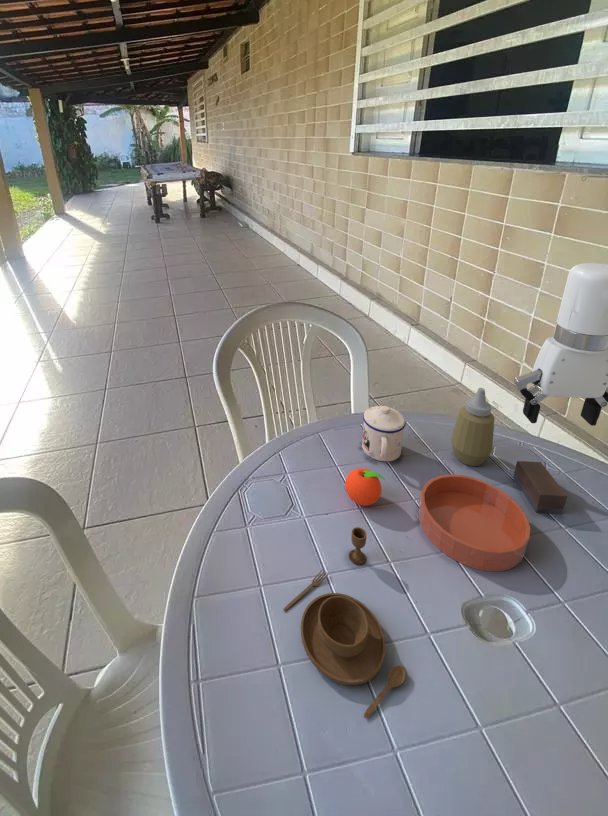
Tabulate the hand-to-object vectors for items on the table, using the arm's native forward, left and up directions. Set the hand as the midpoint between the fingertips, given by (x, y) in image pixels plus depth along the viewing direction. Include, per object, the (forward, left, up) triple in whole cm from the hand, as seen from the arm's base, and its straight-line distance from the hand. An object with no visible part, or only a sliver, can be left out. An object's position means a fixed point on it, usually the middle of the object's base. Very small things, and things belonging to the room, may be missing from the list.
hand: (558, 419), depth 78 cm
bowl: (+16, +9, -18) cm, 26 cm away
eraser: (0, 0, -18) cm, 18 cm away
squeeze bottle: (+9, -10, -18) cm, 23 cm away
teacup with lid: (+28, -10, -18) cm, 35 cm away
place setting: (+39, +28, -18) cm, 51 cm away
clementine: (+34, +4, -18) cm, 39 cm away
